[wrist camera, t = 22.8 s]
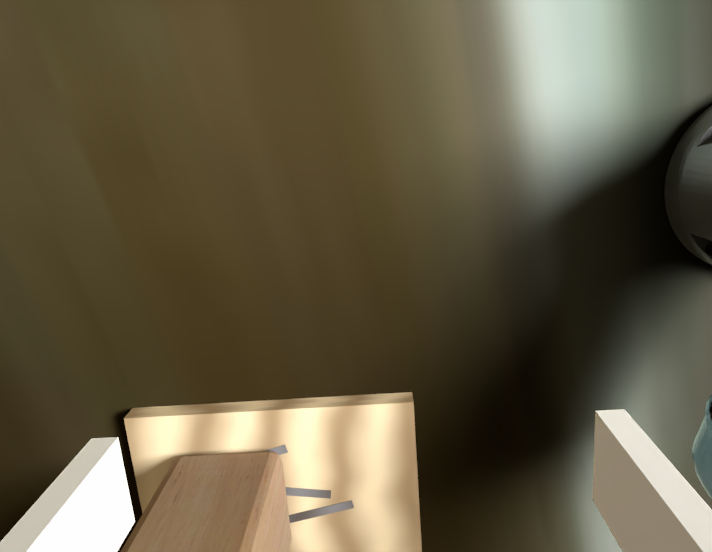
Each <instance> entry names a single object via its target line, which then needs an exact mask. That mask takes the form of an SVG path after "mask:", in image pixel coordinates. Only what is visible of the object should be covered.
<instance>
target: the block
mask: <svg viewBox="0 0 712 552" xmlns="http://www.w3.org/2000/svg"><path fill="white" fill-rule="evenodd" d="M291 539H292V537H291V529H290V521H289V512H288V504H287V496H286V488H285V480H284V472H283V464H282V460H281V458H280V456H279V454H278V453H277V452H273V451H264V452H245V453H226V454H207V455H189V456H182V457H179V458H177V459H175V460H174V461H173V463H172V464H171V466H170V468H169V470H168V471H167V473H166V475H165V476H164V478H163V480H162V482H161V483H160V485H159V487H158V488H157V490H156V492H155V493H154V495H153V497H152V499H151V500H150V502H149V504H148V505H147V507H146V509H145V511H144V512H143V514H142V516H141V517H140V519H139V521H138V523H137V524H136V526H135V528H134V529H133V531H132V533H131V535H130V536H129V538H128V540H127V541H126V543H125V545H124V547H123V548H122V550H121V552H289V550H290V545H291Z"/></svg>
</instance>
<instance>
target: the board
mask: <svg viewBox="0 0 712 552" xmlns="http://www.w3.org/2000/svg"><path fill="white" fill-rule="evenodd" d="M124 423H125V428H126V433H127V438H128V443H129V448H130V453H131V458H132V463H133V468H134V473H135V479H136V484H137V489H138V494H139V499H140V504H141V509H142V514H143V512H144V511H145V509H146V507H147V505H148V504H149V502H150V500H151V499H152V497H153V495H154V493H155V492H156V490H157V488H158V487H159V485H160V483H161V482H162V480H163V478H164V476H165V475H166V473H167V471H168V470H169V468H170V466H171V464H172V463H173V461H174V460H175V459H177V458H179V457H182V456H189V455H207V454H226V453H245V452H264V451H273V452H277V453H278V454H279V456H280V458H281V460H282V464H283V472H284V480H285V488H286V496H287V504H288V512H289V521H290V529H291V537H292V539H291V545H290V550H289V552H422V543H421V525H420V508H419V490H418V472H417V454H416V437H415V419H414V402H413V395H412V392H403V393H386V394H368V395H351V396H333V397H316V398H298V399H281V400H263V401H246V402H229V403H211V404H194V405H176V406H159V407H141V408H132V409H131V410H130V412H129V413H128V414H127V415H126V416H125V418H124Z"/></svg>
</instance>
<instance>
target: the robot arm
mask: <svg viewBox="0 0 712 552" xmlns="http://www.w3.org/2000/svg"><path fill="white" fill-rule="evenodd" d="M664 195H665V206H666V211H667V215H668V219H669V222H670V224H671V227H672V229H673V231H674V233H675V234H676V236H677V237H678V239H679V240H680V241H681V243H682V244H683V245H684V246H685V247H686V248H687V249H688V250H689V251H690V252H691V253H692V254H694V255H695V256H696V257H698V258H699V259H701V260H703V261H704V262H706V263H709V264H711V265H712V106H710V107H709V108H708V109H706V110H705V111H704V112H703V113H702V114H701V115H700V116H699V117H698V118H697V119H696V120H695V121H694V122H693V123H692V124H691V125H690V127H689V128H688V129H687V130H686V132H685V133H684V135H683V136H682V138H681V139H680V141H679V143H678V144H677V146H676V148H675V150H674V152H673V155H672V157H671V160H670V163H669V166H668V170H667V174H666V180H665V194H664ZM692 458H693V461H694V465H695V471H696V474H697V476H698V479H699V480H700V482H701V484H702V486H703V487H704V489H705V491H706V492H707V493H708V495H709V496H710V498H711V499H712V395H711V396H710V397H709V399H708V401H707V404H706V408H705V417H704V419H703V422H702V424H701V426H700V428H699V431H698V433H697V435H696V437H695V440H694V442H693V447H692ZM593 501H594V503H595V504H596V506H597V508H598V510H599V511H600V513H601V515H602V517H603V518H604V520H605V522H606V523H607V525H608V527H609V529H610V530H611V532H612V534H613V536H614V537H615V539H616V541H617V543H618V544H619V546H620V548H621V549H622V551H623V552H712V509H711V508H710V507H709V506H708V505H707V504H706V503H705V501H704V500H703V499H702V498H701V497H700V496H699V494H698V493H697V492H696V491H695V490H694V489H693V488H692V486H691V485H690V484H689V483H688V482H687V481H686V480H685V478H684V477H683V476H682V475H681V474H680V473H679V471H678V470H677V469H676V468H675V467H674V466H673V465H672V463H671V462H670V461H669V460H668V459H667V458H666V456H665V455H664V454H663V453H662V452H661V451H660V450H659V448H658V447H657V446H656V445H655V444H654V443H653V442H652V440H651V439H650V438H649V437H648V436H647V435H646V433H645V432H644V431H643V430H642V429H641V428H640V427H639V425H638V424H637V423H636V422H635V421H634V420H633V418H632V417H631V416H630V415H629V414H628V413H627V412H626V410H625V409H617V410H599V411H595V439H594V472H593ZM134 523H135V518H134V513H133V508H132V503H131V498H130V493H129V488H128V483H127V478H126V473H125V468H124V463H123V458H122V453H121V448H120V443H119V438H118V437H110V438H91V440H90V441H89V442H88V443H87V444H86V445H85V446H84V448H83V449H82V450H81V451H80V452H79V453H78V454H77V455H76V457H75V458H74V459H73V460H72V461H71V462H70V463H69V465H68V466H67V467H66V468H65V469H64V470H63V471H62V472H61V474H60V475H59V476H58V477H57V478H56V479H55V480H54V482H53V483H52V484H51V485H50V486H49V487H48V488H47V489H46V491H45V492H44V493H43V494H42V495H41V496H40V497H39V499H38V500H37V501H36V502H35V503H34V504H33V505H32V506H31V508H30V509H29V510H28V511H27V512H26V513H25V514H24V516H23V517H22V518H21V519H20V520H19V521H18V522H17V523H16V525H15V526H14V527H13V528H12V529H11V530H10V531H9V533H8V534H7V535H6V536H5V537H4V538H3V539H2V540H1V542H0V552H118V550H119V548H120V547H121V545H122V543H123V541H124V540H125V538H126V536H127V535H128V533H129V531H130V530H131V528H132V526H133V525H134Z"/></svg>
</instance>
